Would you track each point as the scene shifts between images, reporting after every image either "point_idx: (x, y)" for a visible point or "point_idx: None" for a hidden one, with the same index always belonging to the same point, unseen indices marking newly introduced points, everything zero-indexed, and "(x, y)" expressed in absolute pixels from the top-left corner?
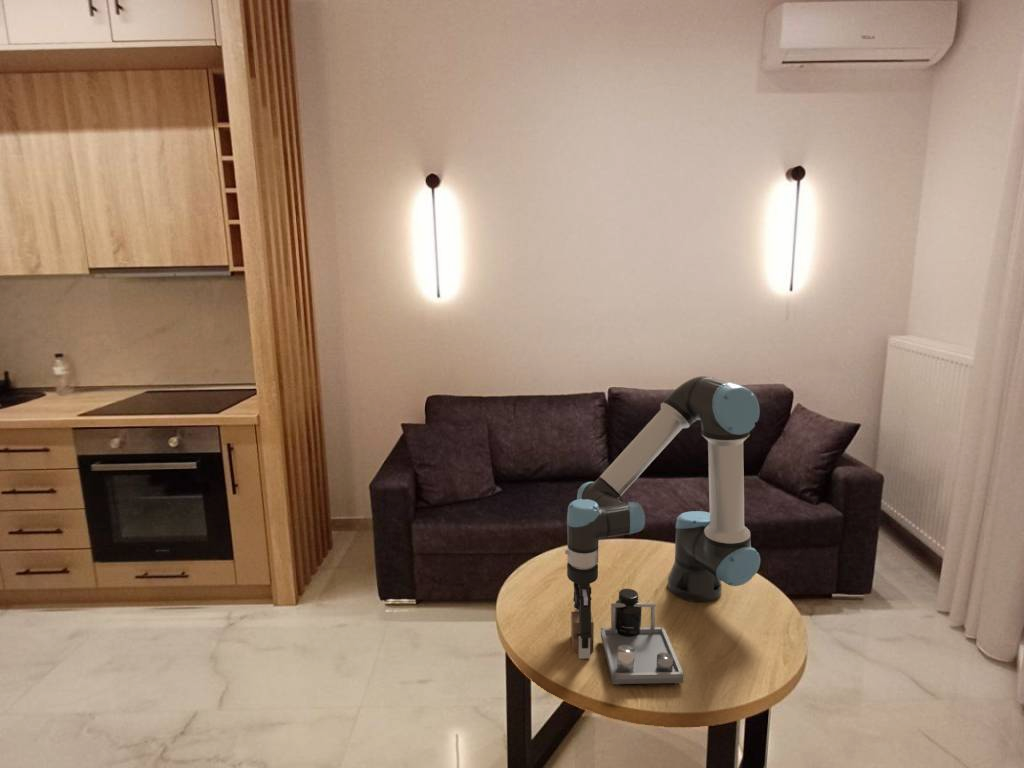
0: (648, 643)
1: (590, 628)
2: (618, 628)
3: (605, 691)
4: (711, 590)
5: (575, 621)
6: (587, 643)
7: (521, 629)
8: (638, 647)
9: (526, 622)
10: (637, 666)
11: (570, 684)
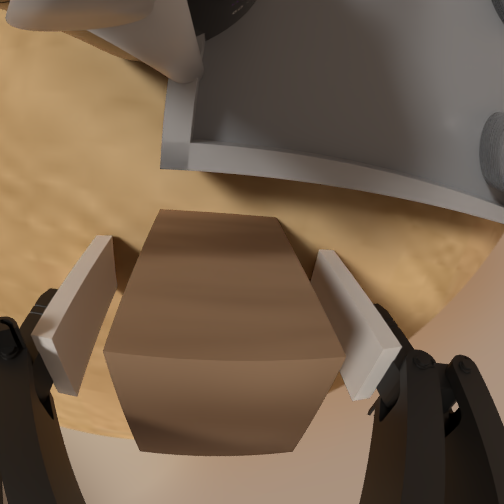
0: None
1: (491, 408)
2: (213, 22)
3: (482, 232)
4: None
5: (277, 446)
6: (396, 329)
7: (115, 418)
8: None
9: (77, 403)
10: (498, 89)
11: (417, 326)
